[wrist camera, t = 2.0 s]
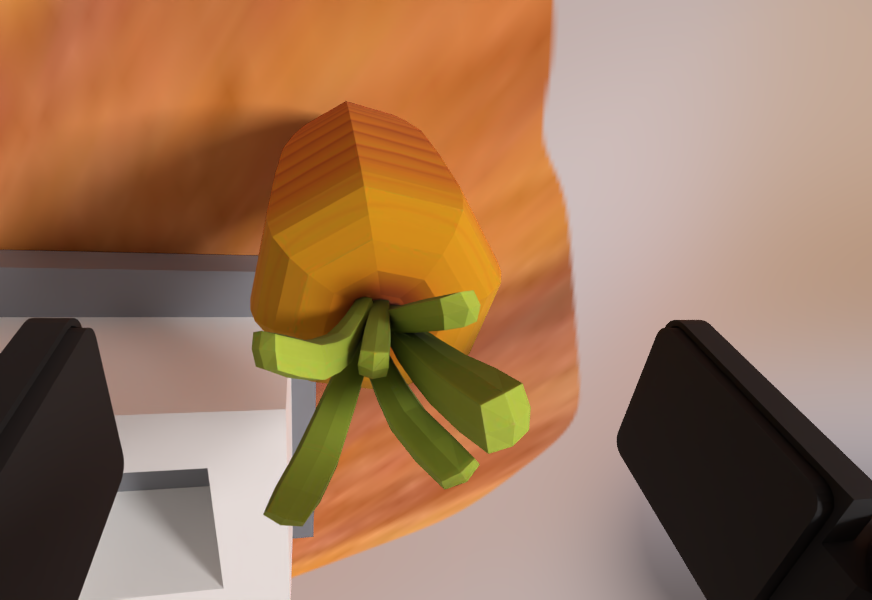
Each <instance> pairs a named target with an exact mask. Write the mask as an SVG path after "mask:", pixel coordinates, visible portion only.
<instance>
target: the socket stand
mask: <svg viewBox="0 0 872 600" xmlns="http://www.w3.org/2000/svg"><path fill="white" fill-rule="evenodd" d="M257 261H258V256H251V255H208V254H165V253H122V252H78V251H35V250H0V353H1V352H2V351H3V349H4V348H5V347H6V345H7V344H8V343H9V341H10V340H11V339H12V338H13V336H14V335H15V334H16V332H17V331H18V330H19V329H20V327H21V326H22V325H23V323H24V322H25V321H26V320H28V319H30V318H76V319H78V321H79V322H80V323H81V326H82V328H92V329H93V330H94V332H95V335H96V338H97V343H98V347H99V351H100V356H101V360H102V364H103V369H104V373H105V377H106V382H107V386H108V390H109V395H110V399H111V403H112V408H113V412H114V416H115V421H116V425H117V429H118V434H119V438H120V442H121V447H122V451H123V456H124V471H123V477H122V480H121V483H120V486H119V489H118V492H117V494H116V497H115V500H114V503H113V505H112V508H111V511H110V514H109V516H108V519H107V522H106V525H105V527H104V530H103V533H102V536H101V538H100V541H99V544H98V547H97V549H96V552H95V555H94V558H93V560H92V563H91V566H90V569H89V571H88V574H87V577H86V580H85V582H84V585H83V588H82V591H81V593H80V596H79V599H78V600H291V570H292V538H304V537H313V522H314V511H313V512H312V514H311V515H310V517H309V518H308V520H307V521H306V522H305V524H304V525H303V527H302V526H285V525H279V524H277V523H276V522H274V521H272V520H271V519H269V518H268V517H266V516H264V515H263V513H264V511H265V509H266V506H267V504H268V502H269V500H270V498H271V495H272V493H273V491H274V489H275V487H276V485H277V483H278V481H279V480H280V478H281V476H282V474H283V473H284V471H285V469H286V467H287V465H288V464H289V462H290V460H291V458H292V457H293V455H294V453H295V451H296V449H297V447H298V445H299V443H300V441H301V439H302V437H303V434H304V432H305V430H306V428H307V426H308V424H309V422H310V420H311V418H312V416H313V414H314V412H315V405H316V382H311V381H309V380H302V379H294V378H287V377H284V376H281V375H278V374H275V373H273V372H270V371H267V370H264V369H261V368H258V367H256V365H255V361H254V357H253V353H252V340H253V332H257V331H263V330H262V329H261V327H260V326H259V325H258V324H257V323H256V322H255V320H254V318H253V315H252V313H251V310H250V298H251V292H252V287H253V282H254V277H255V272H256V266H257Z"/></svg>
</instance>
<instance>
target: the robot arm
mask: <svg viewBox="0 0 872 600" xmlns="http://www.w3.org/2000/svg"><path fill="white" fill-rule="evenodd" d="M617 447H618V451H619V453H620V455H621V457H622V458H623V460H624V462H625V463H626V465H627V467H628V468H629V470H630V472H631V473H632V475H633V477H634V478H635V480H636V482H637V483H638V485H639V487H640V489H641V490H642V492H643V493H644V495H645V497H646V499H647V500H648V502H649V504H650V505H651V507H652V509H653V510H654V512H655V514H656V515H657V517H658V519H659V520H660V522H661V524H662V525H663V527H664V529H665V530H666V532H667V534H668V535H669V537H670V539H671V540H672V542H673V544H674V545H675V547H676V549H677V550H678V552H679V554H680V555H681V557H682V559H683V560H684V562H685V564H686V566H687V567H688V569H689V571H690V572H691V574H692V575H693V577H694V579H695V581H696V582H697V584H698V586H699V587H700V589H701V591H702V592H703V594H704V595H705V597H706V599H707V600H872V480H871V479H870V478H869V477H868V476H867V475H866V474H865V473H864V472H862V470H860V469H859V468H858V467H857V466H856V465H855V464H854V463H853V462H852V461H851V460H850V459H849V458H848V457H847V456H846V455H845V454H844V453H843V452H842V451H841V450H840V449H839V448H838V447H837V446H836V445H835V444H834V443H833V442H832V441H830V440H829V439H828V438H827V437H826V436H825V435H824V434H823V433H822V432H821V431H820V430H819V429H818V428H817V427H816V426H815V425H814V424H813V423H812V422H811V421H810V420H809V419H808V418H807V417H806V416H805V415H803V414H802V413H801V412H800V411H799V410H798V409H797V408H796V407H795V406H794V405H793V404H792V403H791V402H790V401H789V400H788V399H787V398H786V397H785V396H784V395H783V394H782V393H781V392H780V391H779V390H778V389H777V388H775V387H774V386H773V385H772V384H771V383H770V382H769V381H768V380H767V379H766V378H765V377H764V376H763V375H762V374H761V373H760V372H759V371H758V370H757V369H755V367H754V366H753V365H751V364H750V363H749V362H748V361H747V360H746V359H745V358H744V357H743V356H742V355H741V354H740V353H739V352H738V351H737V350H736V349H735V348H734V347H733V346H732V345H731V344H730V343H729V342H728V341H727V340H726V339H725V338H724V337H722V335H720V334H719V333H718V332H717V331H716V330H715V329H714V328H713V327H712V326H711V325H710V324H709V323H707V322H706V321H702V320H673V321H670V322H669V323H668V324H667V325H666V327H665V328H663V329H661V330H660V331H659V332H658V334H657V336H656V338H655V341H654V343H653V346H652V348H651V351H650V354H649V356H648V358H647V361H646V364H645V366H644V369H643V371H642V374H641V376H640V379H639V381H638V384H637V386H636V389H635V391H634V394H633V396H632V399H631V401H630V404H629V407H628V409H627V411H626V414H625V417H624V419H623V422H622V424H621V426H620V429H619V432H618V435H617ZM123 471H124V456H123V451H122V447H121V442H120V438H119V434H118V429H117V425H116V421H115V416H114V412H113V408H112V403H111V399H110V395H109V390H108V386H107V382H106V377H105V373H104V369H103V364H102V360H101V356H100V351H99V347H98V343H97V338H96V335H95V332H94V330H93V329H92V328H82V326H81V323H80V322H79V321H78V319H76V318H30V319H28V320H26V321H25V322H24V323H23V325H22V326H21V327H20V329H19V330H18V331H17V332H16V334H15V335H14V336H13V338H12V339H11V340H10V341H9V343H8V344H7V345H6V347H5V348H4V349H3V351H2V352H1V353H0V600H78V599H79V596H80V593H81V591H82V588H83V585H84V582H85V580H86V577H87V574H88V571H89V569H90V566H91V563H92V560H93V558H94V555H95V552H96V549H97V547H98V544H99V541H100V538H101V536H102V533H103V530H104V527H105V525H106V522H107V519H108V516H109V514H110V511H111V508H112V505H113V503H114V500H115V497H116V494H117V492H118V489H119V486H120V483H121V480H122V477H123Z"/></svg>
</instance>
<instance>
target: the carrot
mask: <svg viewBox="0 0 872 600" xmlns="http://www.w3.org/2000/svg"><path fill="white" fill-rule="evenodd" d="M500 284H501V270H500V267H499V264H498V261H497V259H496V257H495V255H494V254H493V252H492V250H491V248H490V246H489V244H488V242H487V240H486V238H485V236H484V234H483V232H482V230H481V228H480V226H479V224H478V222H477V220H476V218H475V216H474V214H473V212H472V210H471V208H470V206H469V204H468V202H467V200H466V198H465V196H464V194H463V192H462V190H461V188H460V186H459V184H458V183H457V181H456V180H455V178H454V177H453V175H452V174H451V172H450V170H449V169H448V167H447V166H446V164H445V163H444V161H443V160H442V158H441V156H440V155H439V153H438V152H437V151H436V149H435V148H434V147H433V146H432V144H431V143H430V142H429V140H428V139H427V138H426V136H425V135H424V134H423V132H422V131H421V130H419V129H418V128H416V127H415V126H413V125H411V124H410V123H408V122H407V121H405V120H403V119H401V118H398V117H396V116H394V115H392V114H388V113H385V112H381V111H378V110H374V109H371V108H367V107H364V106H361V105H357V104H354V103H350V102H347V101H346V102H344V103H342V104H340V105H339V106H337V107H335V108H333V109H332V110H330V111H328V112H327V113H325V114H323V115H321V116H320V117H318V118H316V119H314V120H313V121H311V122H309V123H307V124H306V125H304V126H303V127H302V128H301V129H300V130H299V131H297V132H296V133H295V134H294V135H293V136H292V138H291V139H290V140H289V141H288V143H287V144H286V145H285V146H284V148H283V150H282V153H281V156H280V160H279V163H278V166H277V170H276V173H275V177H274V181H273V186H272V191H271V195H270V200H269V205H268V209H267V214H266V220H265V225H264V230H263V235H262V240H261V246H260V251H259V256H258V261H257V266H256V272H255V277H254V282H253V287H252V292H251V298H250V310H251V313H252V315H253V318H254V320H255V322H256V323H257V324H258V325H259V326H260V327H261V329H262V330H263V331H257V332H253V340H252V353H253V357H254V361H255V365H256V367H258V368H261V369H264V370H267V371H270V372H273V373H275V374H278V375H281V376H284V377H287V378H294V379H302V380H309V381H311V382H319V383H327V384H328V385H327V387H326V389H325V391H324V393H323V395H322V397H321V399H320V401H319V403H318V406H317V408H316V410H315V412H314V414H313V416H312V418H311V420H310V422H309V424H308V426H307V428H306V430H305V432H304V434H303V437H302V439H301V441H300V443H299V445H298V447H297V449H296V451H295V453H294V455H293V457H292V458H291V460H290V462H289V464H288V465H287V467H286V469H285V471H284V473H283V474H282V476H281V478H280V480H279V481H278V483H277V485H276V487H275V489H274V491H273V493H272V495H271V498H270V500H269V502H268V504H267V506H266V509H265V511H264V513H263V515H264V516H266V517H268V518H269V519H271V520H272V521H274V522H276V523H277V524H279V525H285V526H302V527H303V525H304V524H305V522H306V521H307V520H308V518H309V517H310V515H311V514H312V512H313V511H314V510H315V508H316V507H317V505H318V504H319V503H320V501H321V499H322V497H323V495H324V492H325V490H326V488H327V486H328V484H329V482H330V480H331V478H332V475H333V473H334V471H335V469H336V467H337V464H338V461H339V458H340V454H341V451H342V448H343V445H344V442H345V438H346V435H347V432H348V429H349V425H350V422H351V419H352V416H353V413H354V409H355V406H356V403H357V399H358V396H359V392H360V389H361V388H368V389H374V392H375V395H376V397H377V400H378V402H379V405H380V407H381V409H382V411H383V413H384V416H385V418H386V420H387V422H388V424H389V427H390V429H391V431H392V432H393V433H394V434H395V436H396V437H397V438H398V440H399V441H400V442H401V443H402V445H403V446H404V447H405V448H406V450H407V451H408V452H409V454H410V455H411V456H412V457H413V459H414V460H415V461H416V462H417V463H418V464H419V465H420V466H421V467H422V468H423V469H424V470H425V471H426V472H427V473H428V474H429V475H430V476H431V477H432V478H433V479H434V480H435V481H436V482H437V483H438V484H439V485H440V486H441V487H442V488H444V489H448V488H450V487H453V486H456V485H459V484H462V483H465V482H467V481H468V480H469V478H470V477H471V476H472V474H473V473H474V472H475V470H476V469H477V467H478V466H479V465H480V464H479V463H478V462H477V461H476V460H475V458H474V457H473V456H472V455H471V454H470V453H469V452H468V451H467V450H466V449H465V448H464V447H463V446H462V445H461V444H460V443H459V442H458V441H457V440H456V439H455V438H454V437H453V436H452V435H451V434H450V433H449V432H448V431H447V430H446V429H445V428H444V427H442V426H441V425H440V424H439V423H438V422H437V421H436V420H435V419H434V418H433V417H432V416H431V415H430V414H429V413H428V412H427V411H426V410H425V409H424V407H423V406H422V405H421V403H420V402H419V400H418V399H417V397H416V396H415V395H414V393H413V392H412V390H411V389H410V387H409V386H408V385H409V384H411V383H414V384H415V385H416V386H417V388H418V389H419V390H420V392H421V393H422V394H423V395H424V397H425V398H426V399H427V400H428V402H429V403H430V404H431V405H432V406H433V407H434V408H435V409H436V410H437V411H438V412H439V413H440V414H441V415H442V416H443V417H444V418H446V419H447V420H448V421H449V422H450V423H451V424H452V425H453V426H454V427H455V428H456V429H457V430H458V431H459V432H461V433H462V434H463V435H464V436H466V437H467V438H468V439H470V440H471V441H472V442H474V443H475V444H476V445H478V446H479V447H480V448H482V449H483V450H484V451H485V452H487V453H488V454H489V453H492V452H496V451H499V450H502V449H505V448H509V447H512V446H513V445H514V444H515V443H516V442H517V441H518V440H519V439H520V438H521V437H522V436H523V435H524V434H525V433H527V432H528V431H529V422H530V409H531V407H530V404H529V401H528V398H527V396H526V393H525V390H524V387H523V384H522V383H521V382H519V381H517V380H516V379H514V378H512V377H510V376H509V375H507V374H505V373H503V372H502V371H500V370H498V369H496V368H494V367H492V366H490V365H487V364H485V363H483V362H481V361H478V360H476V359H474V358H472V357H469V356H467V355H468V354H469V353H470V351H471V348H472V346H473V344H474V342H475V340H476V337H477V335H478V333H479V331H480V328H481V326H482V324H483V322H484V319H485V317H486V315H487V313H488V310H489V308H490V306H491V304H492V302H493V299H494V297H495V295H496V293H497V290H498V288H499V286H500Z"/></svg>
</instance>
